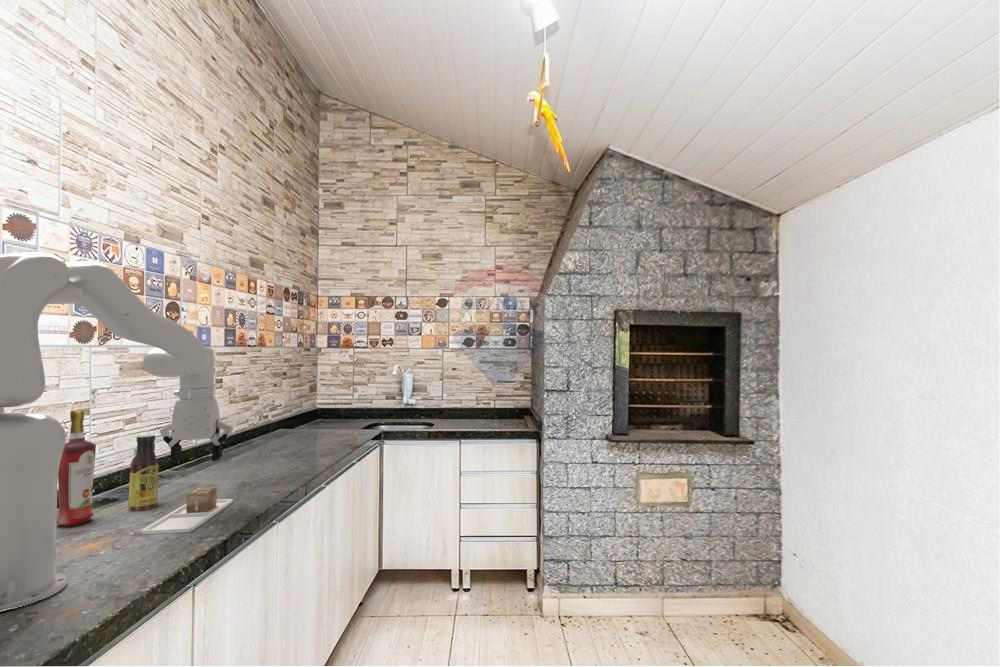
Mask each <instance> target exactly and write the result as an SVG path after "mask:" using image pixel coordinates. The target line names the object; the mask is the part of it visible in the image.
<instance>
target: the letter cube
mask: <svg viewBox="0 0 1000 667" xmlns="http://www.w3.org/2000/svg"><path fill="white" fill-rule="evenodd" d="M217 488H218V487H215V486H214V487H213V486H212V487H196V488H195V489H193V490H190V491H189V492H187V493H186V503H185V504H186V513H201V512H208V511H210V510H211V509H213V508H214V507H216V500H217V493H218V492H217Z"/></svg>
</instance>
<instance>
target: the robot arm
mask: <svg viewBox="0 0 1000 667" xmlns="http://www.w3.org/2000/svg"><path fill="white" fill-rule="evenodd" d="M70 304H78V305H81V307H82V308H84V309H85V311H87V312H88V313H90V314H91V315H92V316H93V317H94V318H95V319H96V320H98V322H100V323H101V324H102V325H103V326H104V328H106V329H107V330H108V331H109V333H112V334H113V335H114V336H116V337H119V338H121V339H123V340H128V341H130V342H131V341H132V342H135V343H138V344H144V345H148V346H151V347H154V348H152V349H150V350H148V352H146V353H145V355H144V357H143V359H142V366H143V368H144V370H145V371H146V372H147V373H148V374H150V375H152V376H154V377H158V378H160V377H161V378H176V377H177V378H178V377H179V388H178V390H175V391H174V392H173V394H174V396H175V397H176V396H177V397H178V399H179V400H176V401H175V403H174V407H173V410H172V411H173V412H172V417H171V418H172V419H171V424H169V425H166V426H165V427H163V428H161V429H159V434H160V435H161V437H162V438H163V439H162V440H163V441H164V442H165V443H166V444H167V445H168V447H169V448H170V460H171V463H172V464H175V463H178V462H180V461H181V460H182V458H183V456H182V454H183V453H182V452H183V450H182V447H183V446H182V444H180V443H181V442H182V441H194V440H196V441H197V440H208V439H209V440H210V441H211V442H212V443H213V445H212V447H211V461H212V462H217V461H219V460H220V459H221V458H222V456H223V444H224V443H225V442H226V441H227V440H228V438H230V435H231V433H232V431H233V430H234V428H233V426H232V425H229V424H227V423H225V422H223V421H221V419H220V418H221V417H220V409H219V405H218V400H217V398H215V384H214V382H215V381H214V380H215V352H214V350H213V348H211V347H208V346H205V345H204V344H203V343H202V342H201V341H200V340H199V338H198V337H196V335H195V334H194V333H193V332H192V331H190V330H189V329H188V328H186V327H185V326H182V324H179V323H177V322H175V321H173V320H172V319H169V318H168V317H166V316H164V315H162V314H159V313H158V312H155V311H154V310H152V309H150V307H149V306H147V305H146V304H145V302H143V301H142V299H140V298H139V296H137V294H136V293H135V292H134V291H133V290H132V289H131V288H130V287H129V286H128V285H127V284H126V282H124V281H123V279H121V277H120V276H119V275H118V274H117V273H116V272H115V271H114V270H113V269H112V268H110V267H109V266H108V265H106V264H104V263H101V262H97V261H70V262H69V261H68V262H67V261H66V262H65V261H64V260H63V259H61V258H60V257H58V256H56V255H54V254H49V253H42V252H19V253H15V252H14V253H6V254H3V253H2V254H0V610H3V609H8V608H13V607H19V606H24V605H27V604H30V605H32V604H31V603H33V604H35V603H34V602H36V603H38V602H37V601H39V600H41V601H42V599H43V600H45V598H46V599H48V598H49V597H52V596H53V595H55V594H57V593H58V592H60V591H61V590H63V589H64V588H65V587H66V585H67V583H68V577H67V575H66V574H64V573H62V572H57V569H56V564H57V562H56V561H57V523H58V522H57V520H58V472H59V466H60V461H61V458H62V454H63V451H64V447H65V444H66V441H67V438H66V437H67V436H66V430H65V429H64V428H65V427H63V425H62V423H61V422H59V420H57V419H55V418H54V417H52V416H50V415H46V414H43V413H36V412H35V413H34V412H5V408H15V407H17V408H18V407H22V406H27V405H29V404H30V405H31V404H32V403H34V402H36V401H37V400H38V399H40V398H41V397H42V395H43V394H44V392H45V389H46V377H45V375H46V374H45V370H44V363H43V358H42V353H41V345H40V341H39V328H38V327H39V320H40V316H41V315H42V312H43V311H44V310H45V308H46V307H47V306H48V305H70ZM221 430H223V431H224V432H223V434H222V435H220V433H221ZM39 602H40V601H39ZM27 606H28V605H27ZM24 607H25V606H24Z"/></svg>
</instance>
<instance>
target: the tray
mask: <svg viewBox="0 0 1000 667" xmlns="http://www.w3.org/2000/svg"><path fill="white" fill-rule="evenodd" d="M233 503H234V498H223V499H216V507H214V508H213V509H211V510H210V511H208V512H201V513H186V503H185V504H183V505H181V506H180V507H178V508H176V509H174V510H172V511H171V512H170V513H168V514H166V515H164V516H162V517H161V518H159V519H158V520H156V521H154V522H152V523H150V524H149V525H147V526H145V527H144V528H142V529H141V530H139V531H138V535H139V536H145V535H163V534H165V535H166V534H178V533H179V534H180V533H191V532H193V531H195V529H198V528H199V527H200V526H201V525H203V524H204V523H206V522H207V521H209V520H210V519H211V518H213V517H215V516H216V515H217V514H218V513H220V512H221V511H223V510H224V509H226V508H227V507H228V506H230V505H232V504H233Z"/></svg>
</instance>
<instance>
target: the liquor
mask: <svg viewBox="0 0 1000 667" xmlns="http://www.w3.org/2000/svg"><path fill="white" fill-rule="evenodd" d="M85 412H86V411H85V409H74V410H70V415H69V416H70V417H69V418H70V423H71V424H70V432H69V439H68V442H65V447H64V451H63V454H62V458H61V461H60V466H59V472H58V482H57V485H58V501H59V502H58V514H59V515H58V517H57V523H58V524H59V525H61V526H63V527H74V526H80V525H83V524H85V523H87V522H88V521H89V520H90V519H92V517H94V513H93V512H92V505H93V504H92V503H93V489H94V488H93V484H94V476H95V465H96V453H97V452H96V450H97V448H96V447H97V444H96V443H93V442H92V441H89V440H86V438H85V429H84V428H85V427H84V421H85V414H86V413H85Z"/></svg>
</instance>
